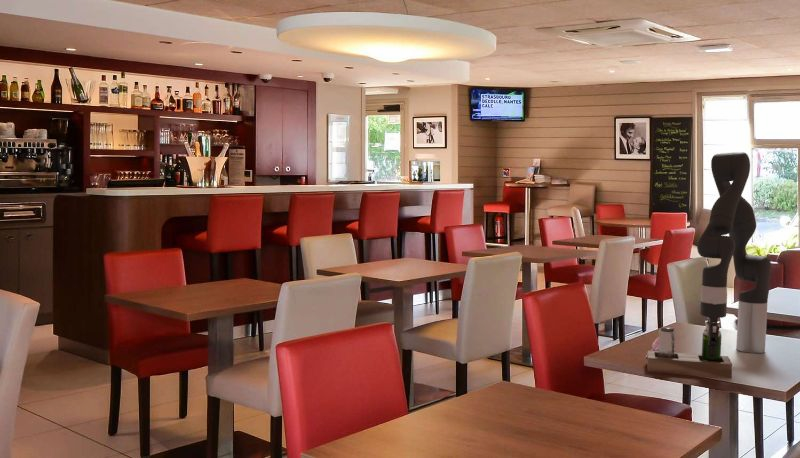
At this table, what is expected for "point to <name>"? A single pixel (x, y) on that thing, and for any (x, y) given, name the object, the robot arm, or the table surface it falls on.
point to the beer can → (705, 346)
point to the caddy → (689, 365)
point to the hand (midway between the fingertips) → (711, 355)
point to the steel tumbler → (666, 342)
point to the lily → (655, 345)
